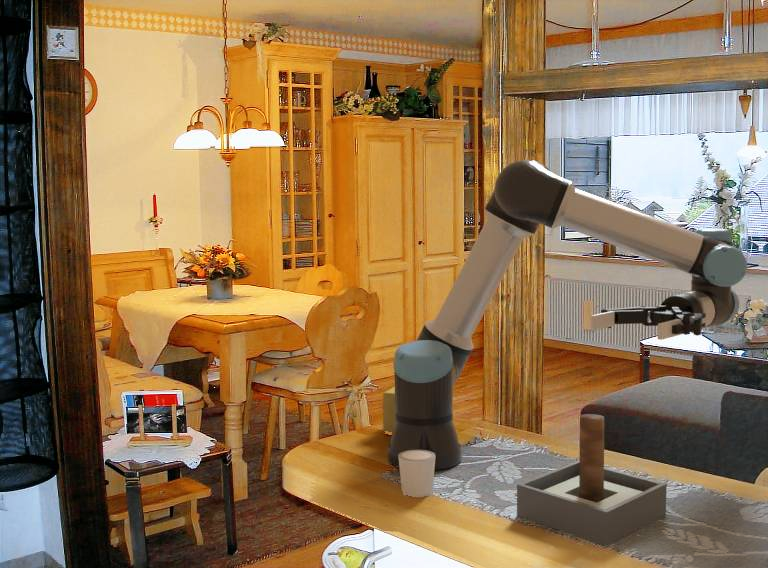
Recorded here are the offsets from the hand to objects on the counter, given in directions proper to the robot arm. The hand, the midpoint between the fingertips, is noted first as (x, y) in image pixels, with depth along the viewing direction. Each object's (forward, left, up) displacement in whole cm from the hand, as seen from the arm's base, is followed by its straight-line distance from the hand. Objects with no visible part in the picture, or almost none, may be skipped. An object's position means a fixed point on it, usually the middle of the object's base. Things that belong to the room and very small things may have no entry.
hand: (624, 327), depth 159 cm
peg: (+3, -14, -29) cm, 32 cm away
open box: (+3, -14, -30) cm, 33 cm away
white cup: (-26, -27, -30) cm, 48 cm away
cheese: (-54, -1, -30) cm, 62 cm away
